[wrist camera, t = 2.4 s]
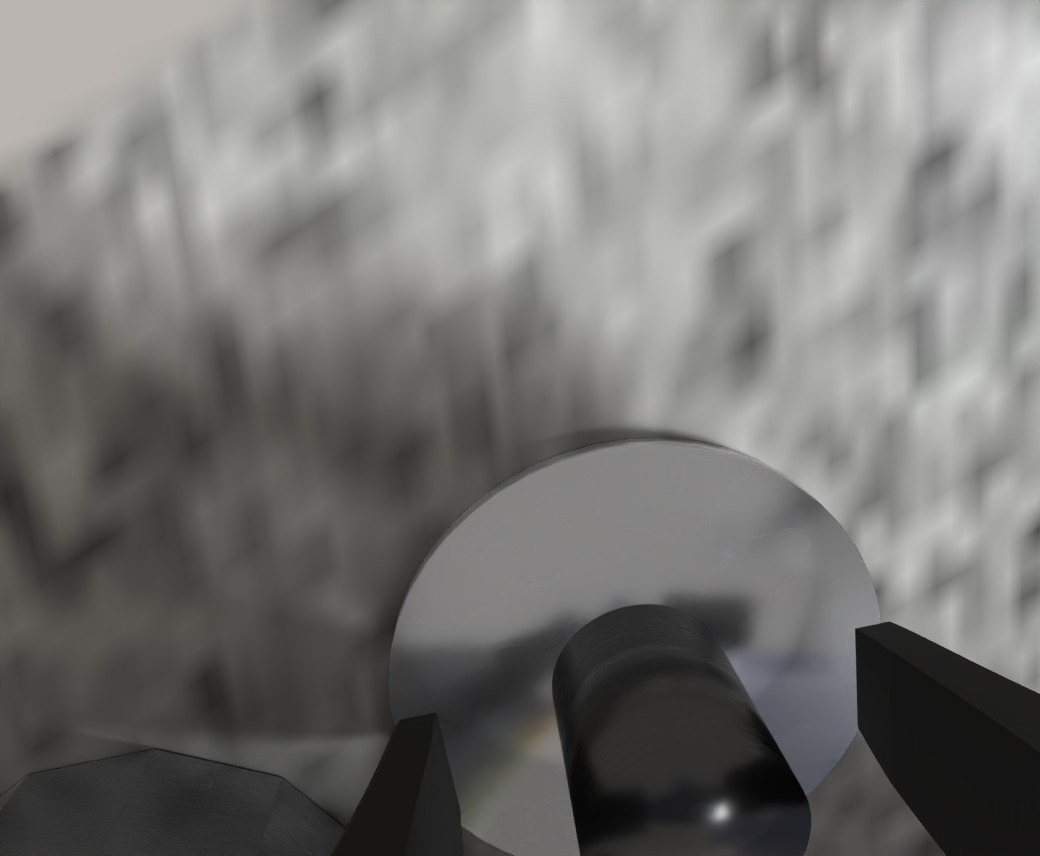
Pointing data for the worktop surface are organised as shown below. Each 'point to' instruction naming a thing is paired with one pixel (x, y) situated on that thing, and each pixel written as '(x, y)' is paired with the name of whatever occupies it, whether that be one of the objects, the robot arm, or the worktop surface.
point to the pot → (161, 811)
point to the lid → (638, 653)
